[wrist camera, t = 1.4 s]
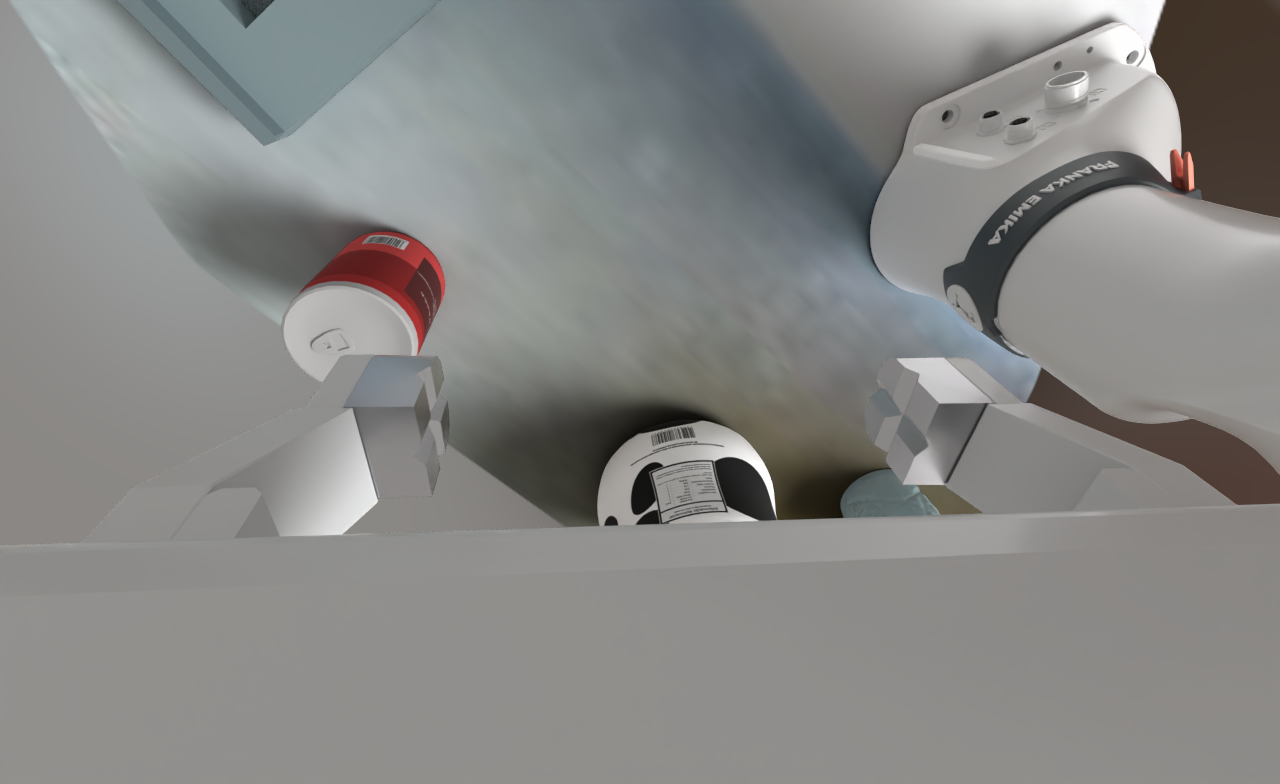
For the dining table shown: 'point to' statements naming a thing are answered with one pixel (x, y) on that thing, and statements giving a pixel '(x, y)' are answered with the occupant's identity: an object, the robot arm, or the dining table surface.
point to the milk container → (685, 478)
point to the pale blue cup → (884, 497)
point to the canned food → (365, 303)
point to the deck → (276, 51)
